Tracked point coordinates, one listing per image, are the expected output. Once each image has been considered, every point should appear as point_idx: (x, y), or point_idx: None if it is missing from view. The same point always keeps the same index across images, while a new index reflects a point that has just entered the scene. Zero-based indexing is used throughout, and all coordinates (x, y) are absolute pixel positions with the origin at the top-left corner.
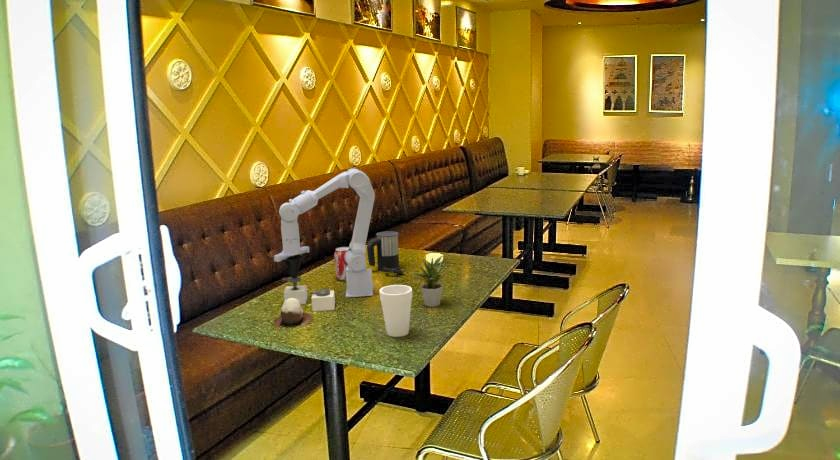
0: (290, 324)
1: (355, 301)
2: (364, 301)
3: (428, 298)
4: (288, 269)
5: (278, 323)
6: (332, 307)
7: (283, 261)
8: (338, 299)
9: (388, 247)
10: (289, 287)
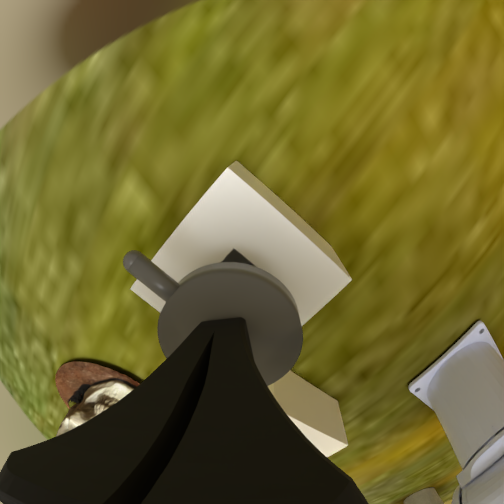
0: None
1: (383, 426)
2: (393, 438)
3: None
4: (156, 380)
5: (68, 390)
6: None
7: (38, 454)
8: (380, 378)
9: None
10: (229, 215)
